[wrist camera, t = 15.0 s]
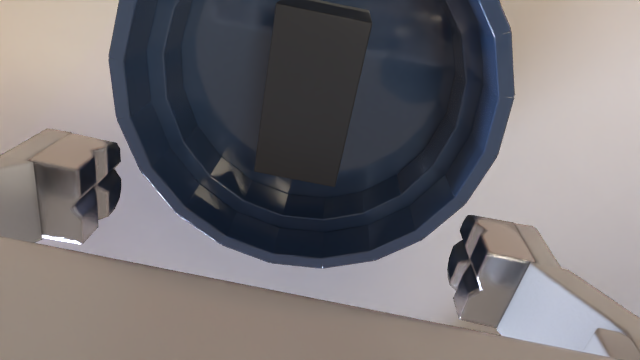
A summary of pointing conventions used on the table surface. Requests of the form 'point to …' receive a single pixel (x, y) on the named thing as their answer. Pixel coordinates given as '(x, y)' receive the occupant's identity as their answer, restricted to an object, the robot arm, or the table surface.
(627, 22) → the table surface
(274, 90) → the eraser
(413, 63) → the blue bowl
